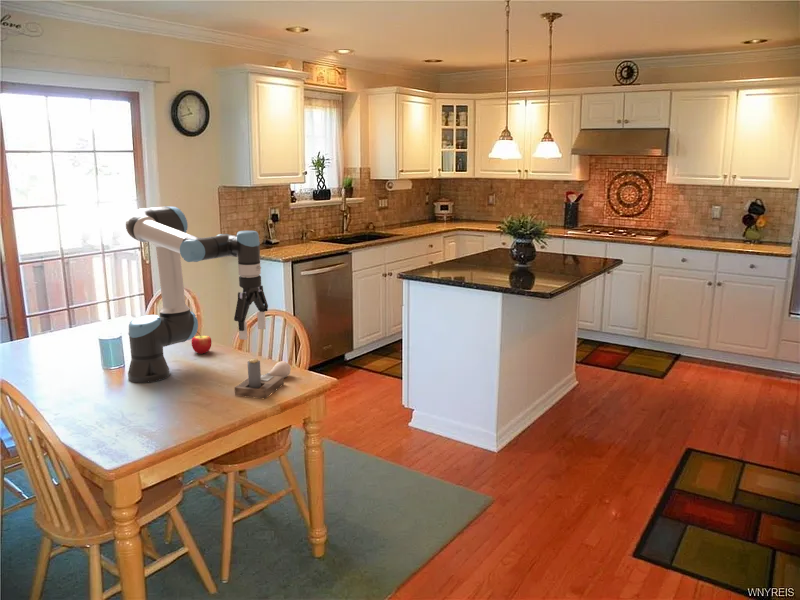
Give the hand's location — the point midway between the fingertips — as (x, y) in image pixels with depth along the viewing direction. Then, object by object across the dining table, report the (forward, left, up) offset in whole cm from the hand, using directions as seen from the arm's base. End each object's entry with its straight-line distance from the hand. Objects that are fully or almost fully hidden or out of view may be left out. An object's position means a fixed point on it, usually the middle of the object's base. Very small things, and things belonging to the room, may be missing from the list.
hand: (252, 334), depth 228 cm
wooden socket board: (0, +3, -22) cm, 23 cm away
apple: (-45, +36, -23) cm, 62 cm away
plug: (0, 0, -22) cm, 22 cm away
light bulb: (0, +17, -23) cm, 28 cm away
